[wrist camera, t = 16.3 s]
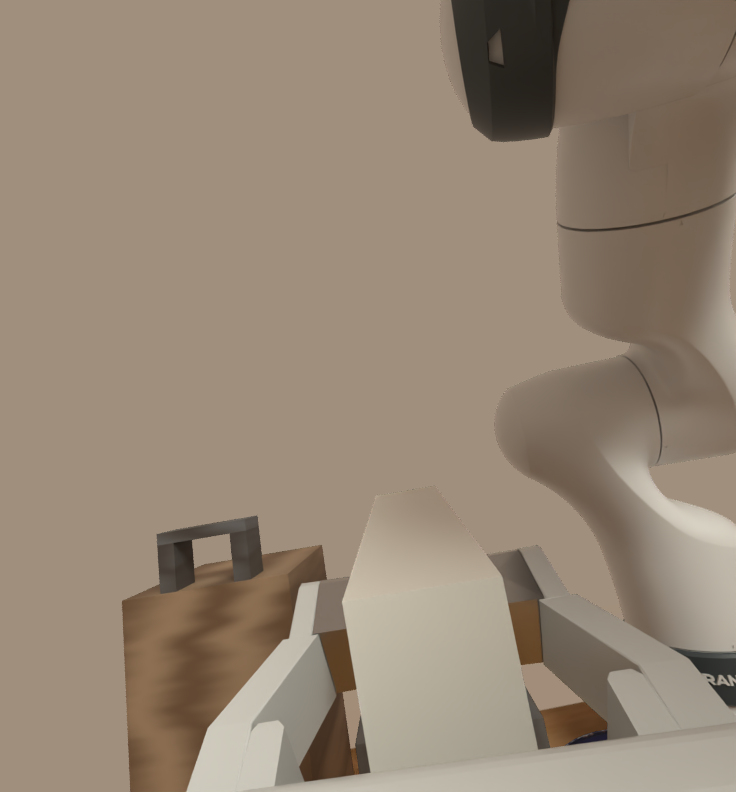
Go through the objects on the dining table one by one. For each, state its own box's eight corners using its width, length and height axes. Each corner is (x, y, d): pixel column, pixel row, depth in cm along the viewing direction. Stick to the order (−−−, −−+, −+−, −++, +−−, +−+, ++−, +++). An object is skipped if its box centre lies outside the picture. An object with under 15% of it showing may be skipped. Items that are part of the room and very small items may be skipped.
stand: (366, 863, 35) (315, 502, 41) (347, 1061, 23) (280, 513, 29) (229, 880, 35) (200, 522, 41) (143, 1082, 24) (119, 540, 30)
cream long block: (446, 546, 20) (434, 485, 20) (538, 750, 7) (502, 576, 7) (386, 556, 20) (375, 495, 21) (370, 774, 7) (342, 602, 8)
